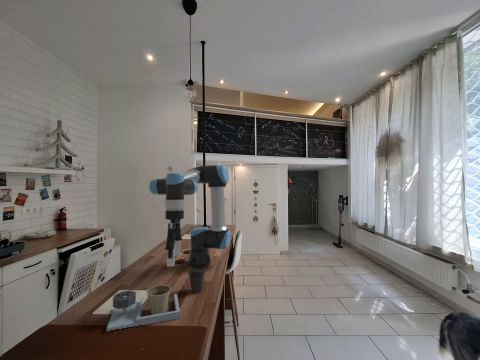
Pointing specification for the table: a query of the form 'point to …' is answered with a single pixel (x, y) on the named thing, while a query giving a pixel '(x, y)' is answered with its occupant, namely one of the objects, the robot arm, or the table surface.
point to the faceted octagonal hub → (124, 299)
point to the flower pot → (158, 298)
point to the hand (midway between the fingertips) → (174, 260)
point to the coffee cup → (196, 280)
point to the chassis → (139, 316)
